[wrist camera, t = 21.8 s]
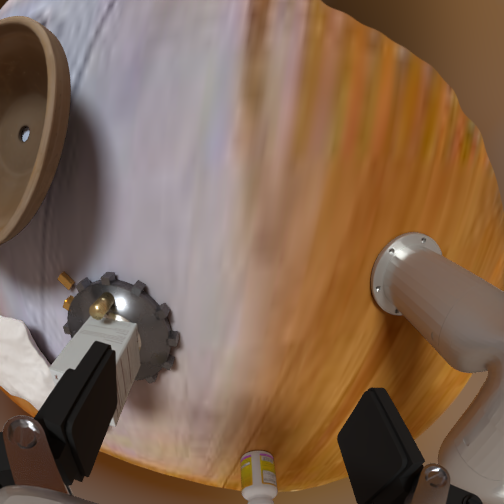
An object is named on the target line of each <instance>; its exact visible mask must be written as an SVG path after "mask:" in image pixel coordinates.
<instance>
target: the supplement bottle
mask: <svg viewBox="0 0 504 504" xmlns="http://www.w3.org/2000/svg"><path fill="white" fill-rule="evenodd" d="M241 484H242V496H243V497H244V498H245V499H246V500H248V501H249V502H248V504H274V502H273V500H272V499H273V498H274V497H275V496H276V495H277V492H278V491H277V483H276V475H275V467H274V460H273V456H272V455H271V454H270V453H268V452H265V451H251V452H248V453H246V454H244V455H243V456H242V458H241Z"/></svg>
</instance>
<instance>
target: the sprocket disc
mask: <svg viewBox="0 0 504 504" xmlns="http://www.w3.org/2000/svg"><path fill="white" fill-rule="evenodd" d="M145 285H146V284H144V283H142V282H141V281H139V280H138V281H137V282H136V283H135V285H132V284H130V283H127V282H124V281H120V280H115V272H106V273H105V274H104V275H103V276H102V277H101V280H98V281H95V282H92V283H91V282H90V281H89V279H88V278H87V277H86V278H85V279H83V280H82V281H81V282H79V283H78V284H77V285H76V288H77V289H78V291H79V293H78V294H77V295H76V296H75V297H73V296H70V297H68V298H67V299H66V300H65V301H64V305H63V308H65V309H66V310H68V322H67V323H66V324H65V325H64V326H63V328H64V332H65V334H70V335H71V338H73V337H74V335H75V334H76V333H77V332H78V331H79V329H80V328H81V327H82V326H83V324H84V323H85V322H86V321H87V320H88V318H89V317H90V316H91V317H92V318H94V319H96V320H101V319H102V318H108V319H113V320H119V321H125V322H131V323H137V328H138V342H139V355H140V368H139V370H138V373H137V375H136V377H135V380H142V379H146V380H147V382H148V383H152V382H155V380H156V377H157V374H158V372H159V371H160V370H161V369H162V367H163V368H165V369H167V370H170V368H171V367H172V365H173V362H174V358H175V357H174V356H172V355H170V354H169V352H170V349H171V346H177V343H178V340H179V333H178V331H171V328H170V325H169V322H168V320H167V315H168V313H169V311H170V309H169V307H168V306H167V305H166V303H163V304H161V305H158V304H157V303H156V302H155V300H154V299H153V298H152V297H150V296H149V295H148V294H147V293H146V292H144V291H143V289H144V287H145Z"/></svg>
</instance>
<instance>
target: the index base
mask: <svg viewBox="0 0 504 504" xmlns="http://www.w3.org/2000/svg"><path fill="white" fill-rule="evenodd" d="M58 280H59V281H60V282H61V283H62V284H63V285H64V286H65V287H66V288H67V289H68V290H70V289H71V288H72V286H73V285H74V283H75V282H74V281H73V280H72V279H71V278H70V277H69V276H68V275H67V274H66V273H65V272H62V273H61V274H60V276H59V278H58Z"/></svg>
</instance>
